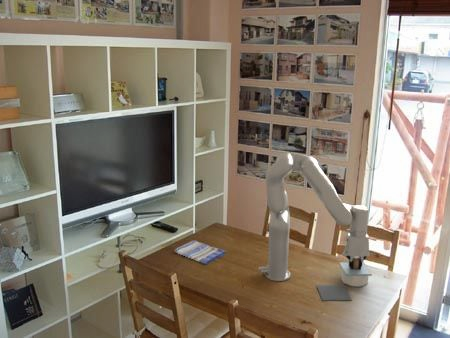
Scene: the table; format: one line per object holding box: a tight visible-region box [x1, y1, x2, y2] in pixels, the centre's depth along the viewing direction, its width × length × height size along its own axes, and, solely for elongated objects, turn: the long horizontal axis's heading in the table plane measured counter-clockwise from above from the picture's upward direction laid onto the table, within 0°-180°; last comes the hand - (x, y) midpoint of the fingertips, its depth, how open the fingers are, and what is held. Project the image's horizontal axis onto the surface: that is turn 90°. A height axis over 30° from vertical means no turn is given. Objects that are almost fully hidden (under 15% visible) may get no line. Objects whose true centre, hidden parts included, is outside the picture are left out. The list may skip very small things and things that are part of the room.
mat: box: [316, 284, 353, 302], centre depth 212 cm, size 13×13×1 cm
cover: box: [338, 257, 373, 277], centre depth 220 cm, size 12×12×6 cm
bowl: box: [340, 268, 369, 288], centre depth 222 cm, size 12×12×6 cm
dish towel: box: [174, 239, 226, 265], centre depth 251 cm, size 17×24×3 cm
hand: (355, 267), depth 221 cm, fingers closed on cover, 3 cm apart
